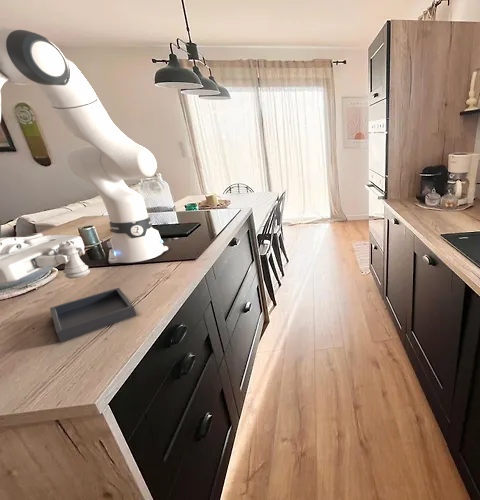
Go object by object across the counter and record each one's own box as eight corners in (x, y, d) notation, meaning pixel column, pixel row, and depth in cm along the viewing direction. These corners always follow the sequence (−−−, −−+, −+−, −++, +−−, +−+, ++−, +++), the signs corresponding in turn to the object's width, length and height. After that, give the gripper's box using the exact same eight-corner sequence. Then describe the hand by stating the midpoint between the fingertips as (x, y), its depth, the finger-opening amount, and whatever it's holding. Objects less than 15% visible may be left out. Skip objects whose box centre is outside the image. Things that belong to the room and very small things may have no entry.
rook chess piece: (95, 272, 68) (84, 240, 65) (73, 280, 64) (60, 246, 61) (83, 269, 69) (71, 238, 67) (60, 277, 65) (47, 244, 63)
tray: (53, 316, 70) (49, 307, 69) (121, 295, 80) (118, 287, 79) (60, 342, 61) (56, 332, 60) (136, 315, 70) (133, 306, 70)
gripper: (-57, 263, 53) (27, 259, 54) (40, 231, 72) (101, 229, 73) (-41, 293, 55) (40, 288, 56) (50, 254, 74) (108, 252, 76)
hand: (75, 254), depth 65 cm, fingers closed on rook chess piece, 3 cm apart
